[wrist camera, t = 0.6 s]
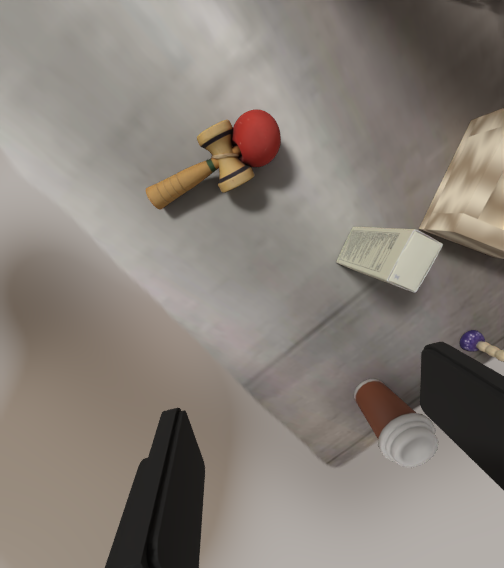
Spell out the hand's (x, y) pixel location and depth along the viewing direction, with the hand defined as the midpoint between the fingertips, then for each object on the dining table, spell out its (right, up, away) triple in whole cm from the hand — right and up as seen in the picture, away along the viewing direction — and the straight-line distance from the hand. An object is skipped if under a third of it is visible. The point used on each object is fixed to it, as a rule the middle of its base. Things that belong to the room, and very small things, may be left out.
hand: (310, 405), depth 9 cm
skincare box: (+14, +10, +29) cm, 34 cm away
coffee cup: (+21, -17, +37) cm, 46 cm away
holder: (+35, +19, +28) cm, 48 cm away
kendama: (-7, +20, +23) cm, 32 cm away
